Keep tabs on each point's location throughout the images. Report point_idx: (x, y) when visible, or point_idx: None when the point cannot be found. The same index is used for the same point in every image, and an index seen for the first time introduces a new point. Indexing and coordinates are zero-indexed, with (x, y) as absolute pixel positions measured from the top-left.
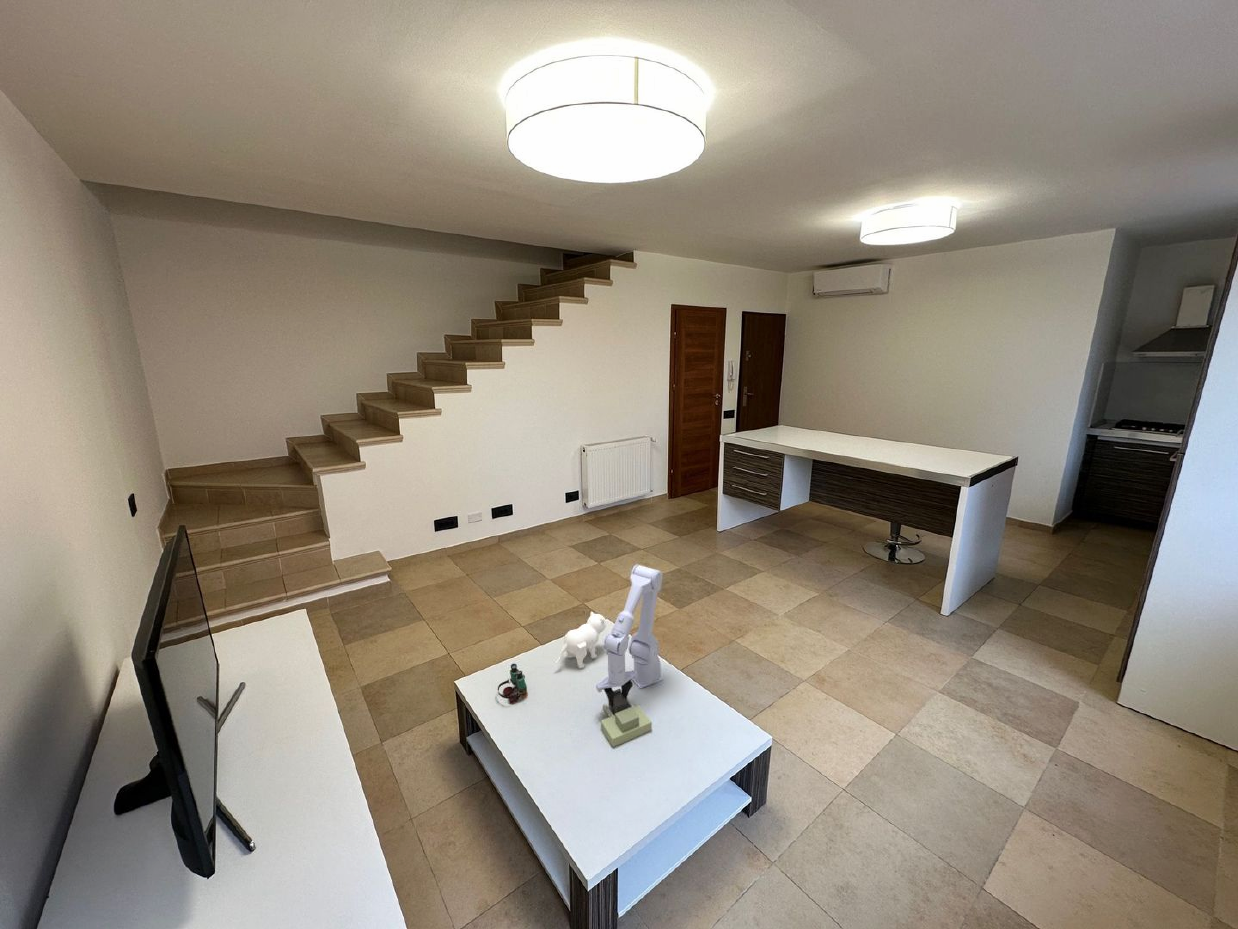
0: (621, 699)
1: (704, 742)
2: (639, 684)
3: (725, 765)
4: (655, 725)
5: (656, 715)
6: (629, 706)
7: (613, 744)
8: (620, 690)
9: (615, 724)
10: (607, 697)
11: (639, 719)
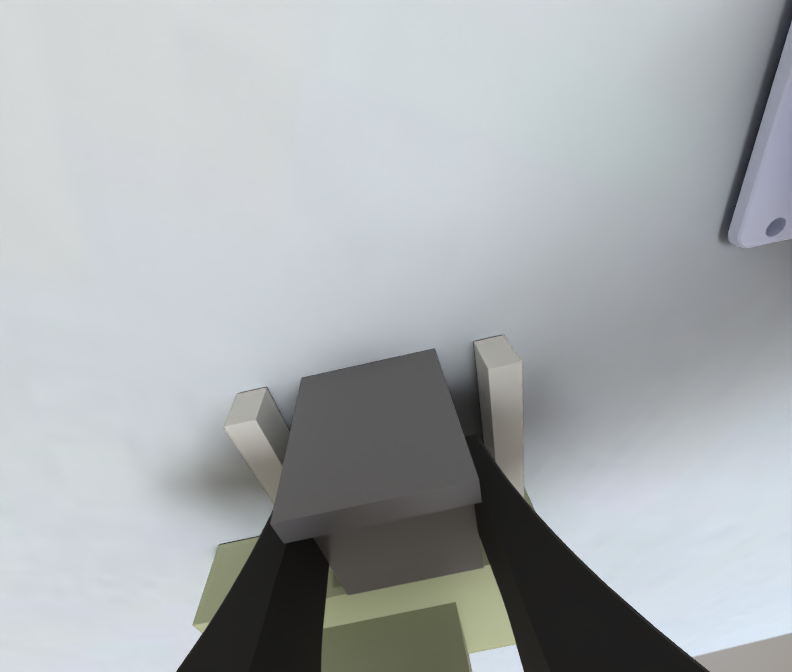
0: (431, 542)
1: (682, 617)
2: (783, 185)
3: None
4: None
5: (614, 509)
6: (486, 442)
7: None
8: (473, 497)
9: None
10: (258, 539)
11: (489, 626)
